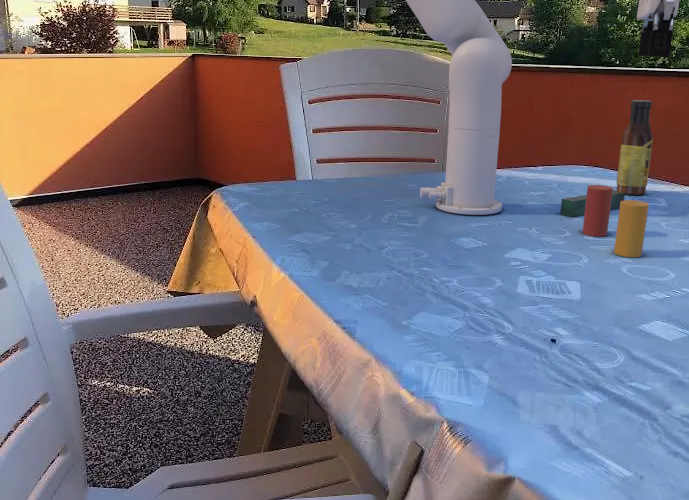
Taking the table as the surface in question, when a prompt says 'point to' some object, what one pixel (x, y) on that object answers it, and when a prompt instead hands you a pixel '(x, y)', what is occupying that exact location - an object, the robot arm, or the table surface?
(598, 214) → the red rod
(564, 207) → the green bar
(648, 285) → the table surface
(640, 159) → the sauce bottle
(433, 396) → the table surface
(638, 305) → the table surface
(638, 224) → the yellow rod
